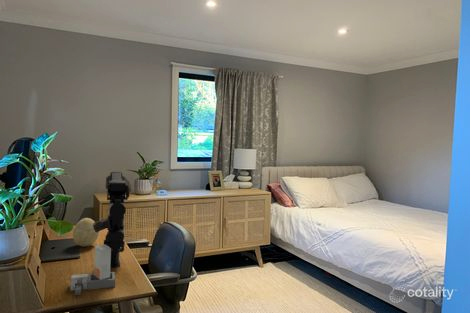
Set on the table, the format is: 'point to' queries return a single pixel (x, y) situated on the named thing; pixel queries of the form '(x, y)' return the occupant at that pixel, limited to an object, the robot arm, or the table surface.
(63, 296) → the table surface
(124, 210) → the robot arm
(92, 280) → the socket
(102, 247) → the skincare box
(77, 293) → the lock pin
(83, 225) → the fossilized egg
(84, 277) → the pin mount
